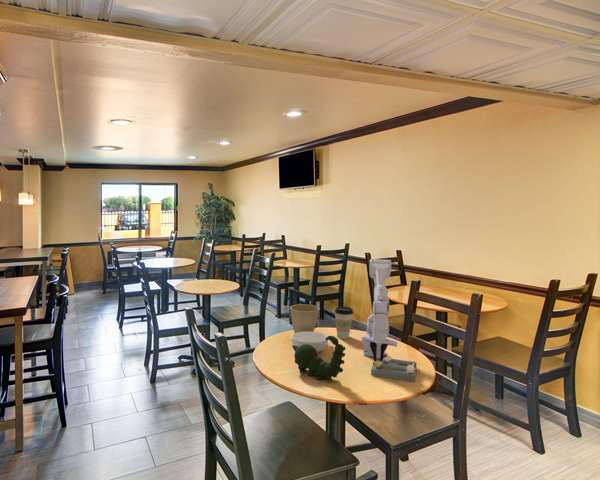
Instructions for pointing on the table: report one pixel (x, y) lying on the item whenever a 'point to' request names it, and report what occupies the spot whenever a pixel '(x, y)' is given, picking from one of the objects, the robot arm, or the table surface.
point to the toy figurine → (319, 360)
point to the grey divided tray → (395, 370)
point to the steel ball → (386, 359)
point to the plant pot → (304, 317)
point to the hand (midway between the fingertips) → (378, 360)
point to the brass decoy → (378, 364)
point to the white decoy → (410, 369)
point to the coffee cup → (343, 321)
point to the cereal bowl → (310, 339)
